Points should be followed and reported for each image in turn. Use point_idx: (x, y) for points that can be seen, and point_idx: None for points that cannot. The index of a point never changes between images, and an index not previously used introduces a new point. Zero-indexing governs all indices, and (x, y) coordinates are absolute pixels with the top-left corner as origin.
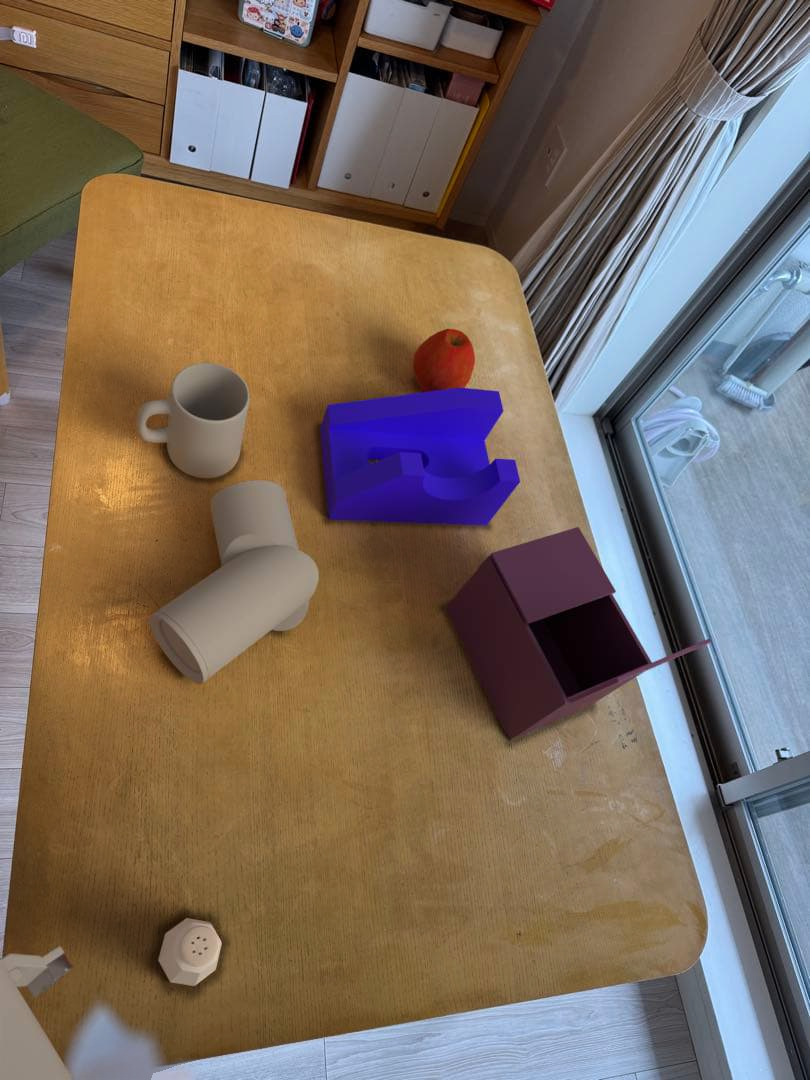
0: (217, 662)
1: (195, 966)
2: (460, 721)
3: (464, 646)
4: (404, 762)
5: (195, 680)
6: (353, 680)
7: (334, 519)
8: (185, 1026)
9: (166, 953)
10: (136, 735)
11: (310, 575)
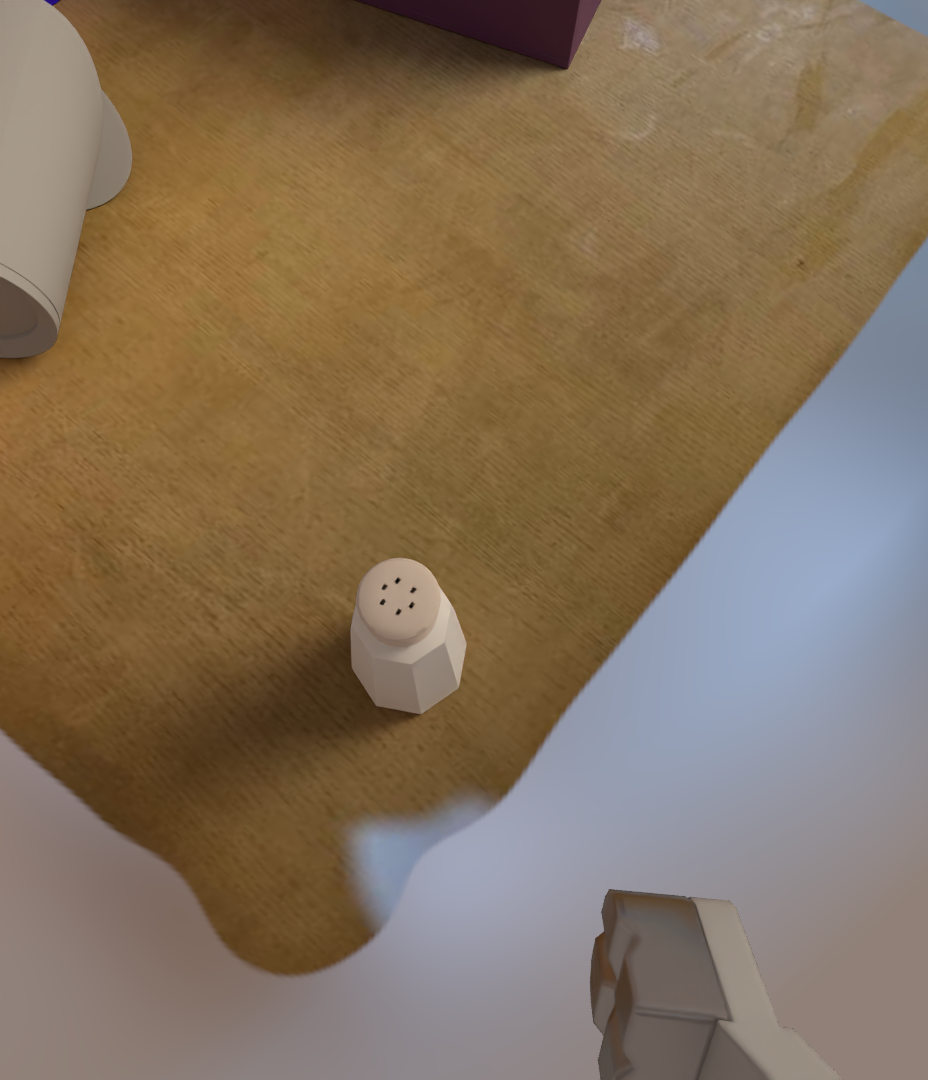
0: (34, 259)
1: (424, 630)
2: (482, 99)
3: (396, 10)
4: (459, 204)
5: (49, 338)
6: (289, 169)
7: (50, 3)
8: (497, 742)
9: (370, 677)
10: (46, 485)
11: (51, 24)
